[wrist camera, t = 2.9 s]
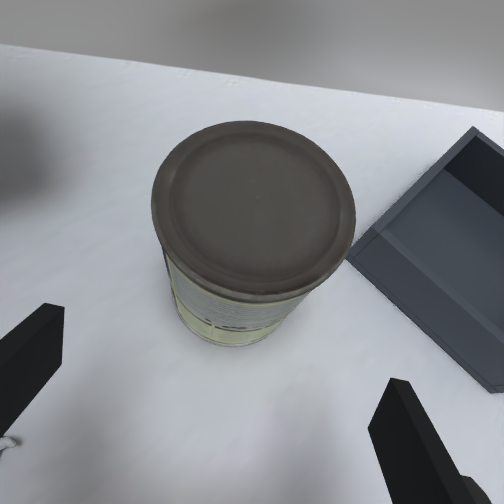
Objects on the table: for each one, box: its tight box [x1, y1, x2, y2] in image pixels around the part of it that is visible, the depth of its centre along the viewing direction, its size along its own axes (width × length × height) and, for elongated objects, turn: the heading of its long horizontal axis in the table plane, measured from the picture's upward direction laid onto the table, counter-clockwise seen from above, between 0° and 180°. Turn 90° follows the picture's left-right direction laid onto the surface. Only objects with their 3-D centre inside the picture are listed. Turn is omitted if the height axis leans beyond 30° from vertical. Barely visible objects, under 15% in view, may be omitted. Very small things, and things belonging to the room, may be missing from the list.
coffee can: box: [151, 121, 356, 347], centre depth 24 cm, size 10×10×14 cm
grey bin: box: [345, 126, 504, 393], centre depth 32 cm, size 17×17×6 cm
